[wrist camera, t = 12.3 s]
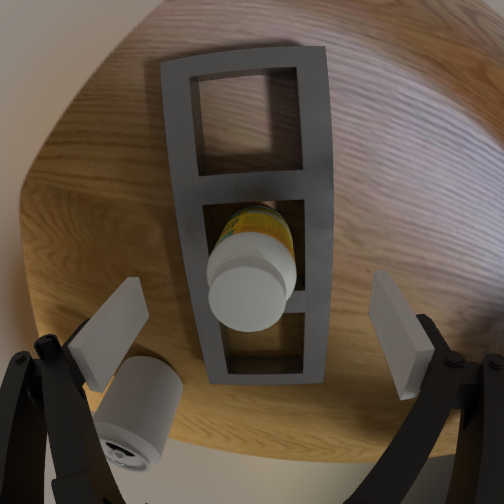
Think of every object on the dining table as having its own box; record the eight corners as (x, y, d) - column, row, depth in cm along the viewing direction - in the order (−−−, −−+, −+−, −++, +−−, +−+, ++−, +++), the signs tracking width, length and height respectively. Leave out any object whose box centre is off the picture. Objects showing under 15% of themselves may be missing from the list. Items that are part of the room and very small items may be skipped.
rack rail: (320, 54, 18) (325, 46, 16) (320, 365, 29) (323, 382, 27) (171, 68, 19) (159, 62, 17) (214, 366, 30) (209, 383, 28)
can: (191, 366, 30) (161, 460, 19) (178, 403, 33) (152, 483, 22) (127, 340, 30) (78, 424, 19) (122, 380, 33) (84, 455, 22)
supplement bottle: (277, 276, 25) (276, 354, 17) (216, 254, 25) (184, 325, 16) (302, 217, 23) (316, 276, 14) (236, 193, 23) (210, 238, 14)
